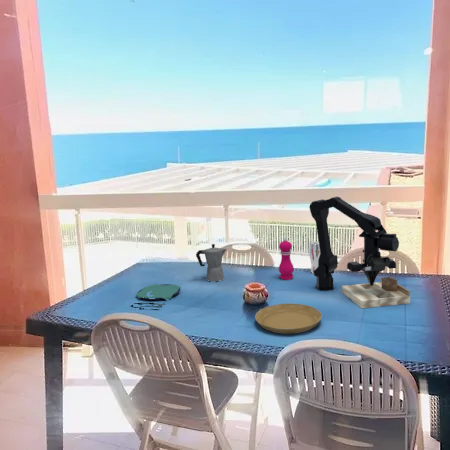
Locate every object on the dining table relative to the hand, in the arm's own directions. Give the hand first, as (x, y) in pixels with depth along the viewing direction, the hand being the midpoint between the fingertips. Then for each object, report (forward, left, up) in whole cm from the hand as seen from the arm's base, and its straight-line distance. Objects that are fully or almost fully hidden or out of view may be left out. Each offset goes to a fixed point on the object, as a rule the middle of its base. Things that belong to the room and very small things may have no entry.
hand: (371, 285), depth 187 cm
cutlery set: (-89, +27, -6) cm, 93 cm away
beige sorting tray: (+1, 0, -5) cm, 6 cm away
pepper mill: (-26, +38, -6) cm, 46 cm away
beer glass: (-9, +43, -6) cm, 44 cm away
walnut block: (+8, 0, -2) cm, 8 cm away
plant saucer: (-40, -16, -6) cm, 43 cm away
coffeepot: (-61, +47, -6) cm, 77 cm away
